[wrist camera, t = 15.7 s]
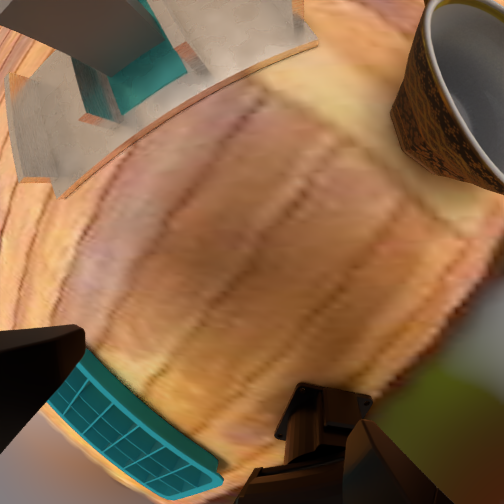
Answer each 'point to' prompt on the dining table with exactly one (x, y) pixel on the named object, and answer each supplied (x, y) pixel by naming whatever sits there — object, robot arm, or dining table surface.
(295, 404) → the robot arm
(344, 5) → the dining table surface
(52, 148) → the tray
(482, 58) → the ceramic cup
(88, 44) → the tall gray rectangular box
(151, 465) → the ice cube tray
